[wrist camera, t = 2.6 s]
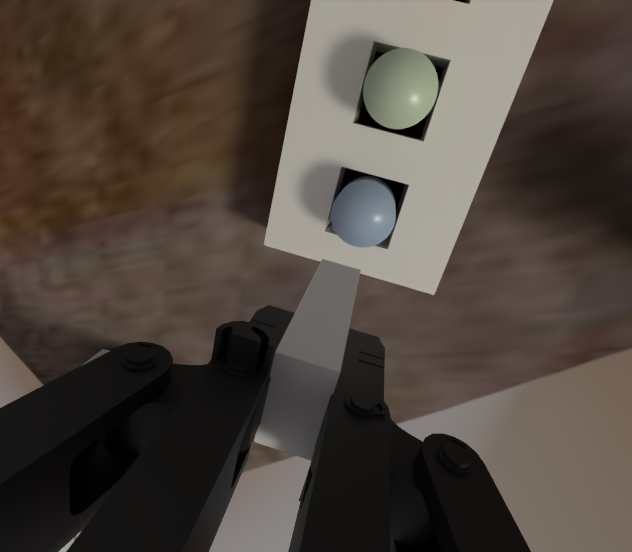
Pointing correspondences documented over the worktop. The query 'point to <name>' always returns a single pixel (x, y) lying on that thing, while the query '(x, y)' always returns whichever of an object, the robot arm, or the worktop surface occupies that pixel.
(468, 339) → the worktop surface
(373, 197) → the slate button
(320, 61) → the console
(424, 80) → the sage button
